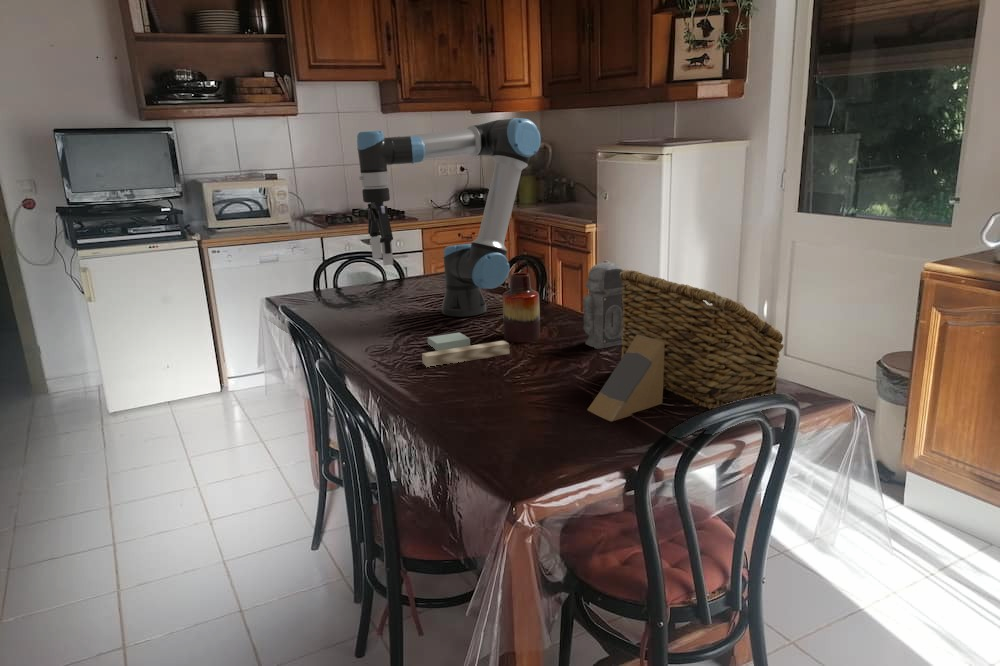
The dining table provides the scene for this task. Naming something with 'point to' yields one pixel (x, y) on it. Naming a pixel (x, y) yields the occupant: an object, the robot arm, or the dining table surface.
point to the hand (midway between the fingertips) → (382, 261)
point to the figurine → (604, 306)
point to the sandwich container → (633, 381)
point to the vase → (521, 310)
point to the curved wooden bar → (465, 353)
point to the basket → (701, 340)
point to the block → (448, 341)
